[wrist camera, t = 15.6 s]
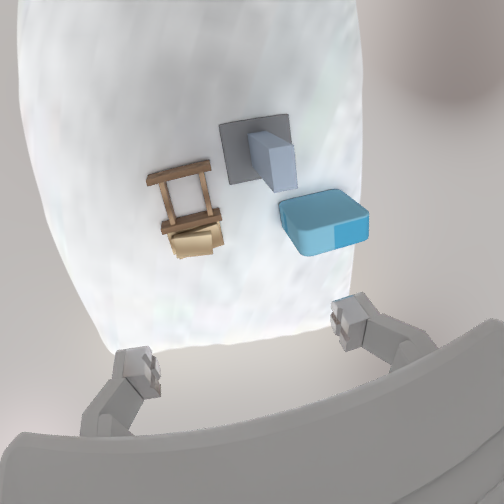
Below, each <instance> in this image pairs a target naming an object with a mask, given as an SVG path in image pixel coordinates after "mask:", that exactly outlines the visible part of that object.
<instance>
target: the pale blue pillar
mask: <svg viewBox="0 0 504 504" xmlns="http://www.w3.org/2000/svg"><path fill="white" fill-rule="evenodd" d="M247 135H248V142H249V148H250V154H251V161H252V167H253V168H254V169H255V170H256V171H257V173H258V174H259V175H260V176H261V177H262V179H263V180H264V181H265V182H266V183H267V185H268V186H269V187H270V188H271V189H272V191H273V192H274V193H277V192H282V191H287V190H292V189H297V188H298V184H297V173H296V163H295V153H294V145H293V144H291V143H289V142H287V141H285V140H283V139H281V138H279V137H277V136H276V135H274V134H272V133H270V132H268V131H261V132H255V133H249V134H247Z"/></svg>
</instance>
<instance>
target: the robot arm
mask: <svg viewBox="0 0 504 504" xmlns="http://www.w3.org/2000/svg"><path fill="white" fill-rule="evenodd" d="M331 309H332V311H333V312H332V314H331V315H330V321H331V326H332V329H333V331H334V333H335V335H337V336H340V340H339V342H340V344H341V345H342V347H343V349H344V351H345V352H347V351H350V350H353V349H356V348H359V347H362V348H364V349H366V350H367V351H369V352H370V353H372V354H374V355H375V356H377V357H378V358H380V359H382V360H383V361H385V362H387V363H389V364H390V365H392V366H391V368H390V371H389V373H388V374H386V375H384V376H382V377H380V378H377V379H375V380H373V381H370V382H368V383H365V384H363V385H360V386H358V387H355V388H353V389H350V390H347V391H345V392H342V393H339V394H336V395H334V396H331V397H328V398H325V399H322V400H319V401H316V402H313V403H310V404H306V405H303V406H300V407H297V408H293V409H290V410H286V411H282V412H279V413H275V414H271V415H267V416H263V417H259V418H255V419H251V420H246V421H242V422H237V423H232V424H227V425H221V426H216V427H211V428H204V429H197V430H191V431H183V432H175V433H166V434H155V435H143V436H135V435H133V434H132V433H131V432H130V431H128V430H129V428H130V426H131V424H132V422H133V420H134V418H135V416H136V415H137V413H138V411H139V409H140V407H141V405H142V404H143V401H144V399H151V398H158V397H161V384H159V381H158V380H159V378H160V377H161V370H160V365H159V363H158V360H157V359H156V357H154V356H152V350H151V349H150V347H149V346H143V347H136V348H129V349H123V350H117V352H116V354H115V360H114V367H113V374H112V379H110V380H108V382H107V383H106V384H105V386H104V387H103V388H102V389H101V391H100V392H99V393H98V395H97V396H96V397H95V398H94V400H93V401H92V402H91V403H90V405H89V406H88V407H87V409H86V410H85V411H84V413H83V414H82V421H81V429H80V437H78V436H77V437H76V436H58V435H46V434H37V433H29V432H22V433H20V434H19V435H18V436H17V437H16V438H15V439H14V440H13V441H12V442H11V443H10V444H9V446H8V447H7V448H6V449H5V451H4V453H3V455H2V458H1V461H0V504H504V322H503V321H500V320H497V319H493V318H490V319H487V320H485V321H484V322H482V323H481V324H479V325H478V326H476V327H475V328H473V329H471V330H470V331H468V332H466V333H465V334H463V335H462V336H460V337H458V338H457V339H455V340H453V341H451V342H450V343H448V344H446V345H444V346H443V347H441V348H438V347H437V346H436V344H435V343H434V342H433V340H431V338H430V337H429V335H428V334H427V333H426V331H424V330H422V329H419V328H417V327H414V326H412V325H410V324H407V323H405V322H402V321H400V320H398V319H395V318H393V317H391V316H388V315H386V314H380V313H379V311H378V310H377V309H376V308H375V306H374V305H373V304H372V302H371V301H370V300H369V298H368V297H367V296H366V295H365V293H363V292H360V293H357V294H354V295H351V296H348V297H344V298H341V299H338V300H335V301H332V303H331Z"/></svg>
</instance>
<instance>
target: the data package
mask: <svg viewBox="0 0 504 504" xmlns="http://www.w3.org/2000/svg"><path fill="white" fill-rule="evenodd" d="M279 208H280V214H281V221H282V227H283V229H284V230H285V232H286V233H287V235H288V236H289V238H290V239H291V241H292V242H293V244H294V245H295V247H296V248H297V250H298V251H299V253H300V254H301V255H303V256H314V255H318V254H321V253H325V252H328V251H331V250H335V249H338V248H342V247H345V246H349V245H352V244H355V243H359V242H362V241H365V240H367V239H368V236H369V212H368V211H367V210H366V209H365V208H364V207H362V206H361V205H360V204H359V203H357V202H356V201H355V200H353V199H352V198H351V197H349V196H348V195H347V194H345V193H344V192H343V191H341V190H337V189H333V190H327V191H323V192H319V193H314V194H310V195H305V196H301V197H297V198H293V199H288V200H285V201H282V202H281V203H280V204H279Z"/></svg>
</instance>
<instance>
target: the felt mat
mask: <svg viewBox="0 0 504 504" xmlns="http://www.w3.org/2000/svg"><path fill="white" fill-rule="evenodd" d="M219 129H220V134H221V140H222V145H223V151H224V156H225V161H226V167H227V172H228V177H229V183H230V185H233V184H237V183H242V182H247V181H252V180H257V179H262V177H261V176H260V175H259V174H258V173H257V171H256V170H255V169H254V168H253V167H252V161H251V154H250V148H249V142H248V135H247V134H249V133H255V132H261V131H268V132H270V133H272V134H274V135H276V136H277V137H279V138H281V139H283V140H285V141H287V142H289V143H291V144H292V141H291V132H290V124H289V115H288V114H283V115H275V116H268V117H261V118H255V119H249V120H243V121H237V122H231V123H226V124H221V125H219Z"/></svg>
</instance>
